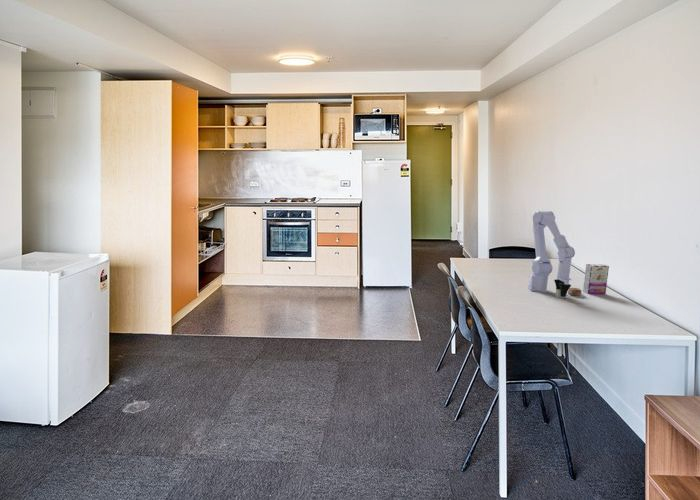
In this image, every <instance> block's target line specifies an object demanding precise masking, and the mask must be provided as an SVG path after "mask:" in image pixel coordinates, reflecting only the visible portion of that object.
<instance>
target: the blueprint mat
mask: <svg viewBox="0 0 700 500" xmlns="http://www.w3.org/2000/svg"><path fill="white" fill-rule="evenodd" d="M568 291H569V289H568ZM568 291H567V294H566V297H568V298H569V297H571V298H578V297H577V296H570V295H569V294H568ZM581 298H583V299H584V298H585V299H588V297H587V296H585V294H583V293H581V297H580V299H581Z"/></svg>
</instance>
